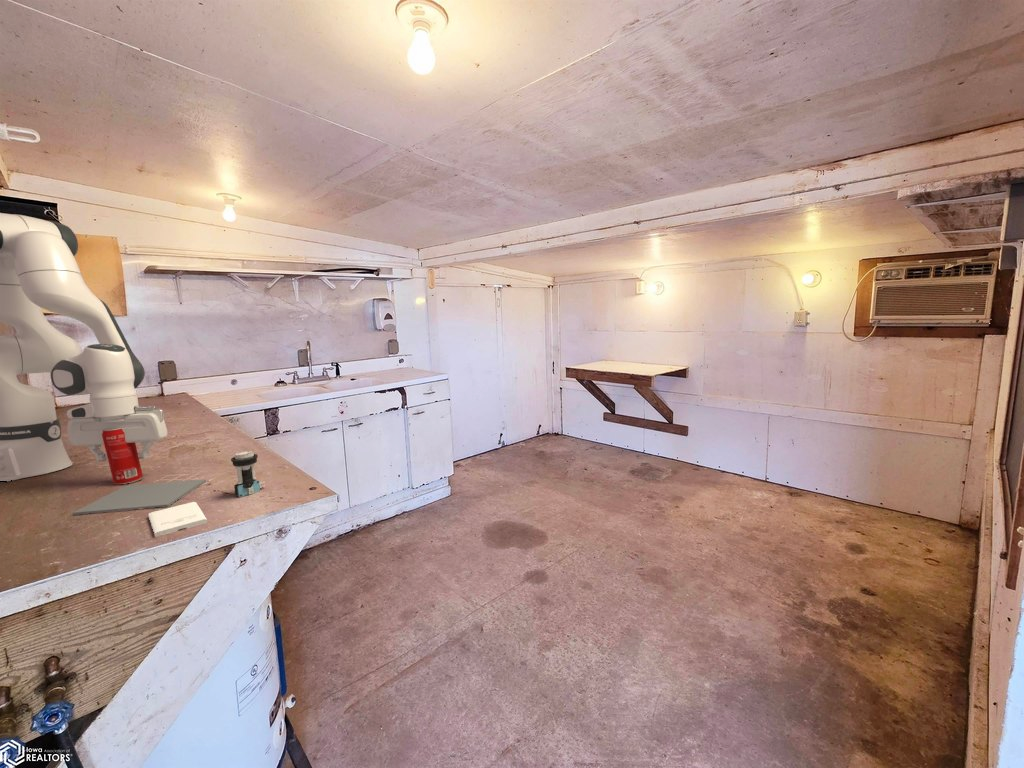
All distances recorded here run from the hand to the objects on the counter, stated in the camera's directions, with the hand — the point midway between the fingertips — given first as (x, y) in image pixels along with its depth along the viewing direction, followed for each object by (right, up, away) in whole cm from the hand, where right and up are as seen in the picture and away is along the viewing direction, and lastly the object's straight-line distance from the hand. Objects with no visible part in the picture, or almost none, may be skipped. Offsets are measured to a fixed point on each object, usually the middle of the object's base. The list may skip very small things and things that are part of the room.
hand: (123, 459), depth 108 cm
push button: (+39, -7, -8) cm, 40 cm away
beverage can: (0, -6, +1) cm, 6 cm away
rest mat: (+14, -7, -10) cm, 19 cm away
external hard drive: (+32, -9, -22) cm, 40 cm away
